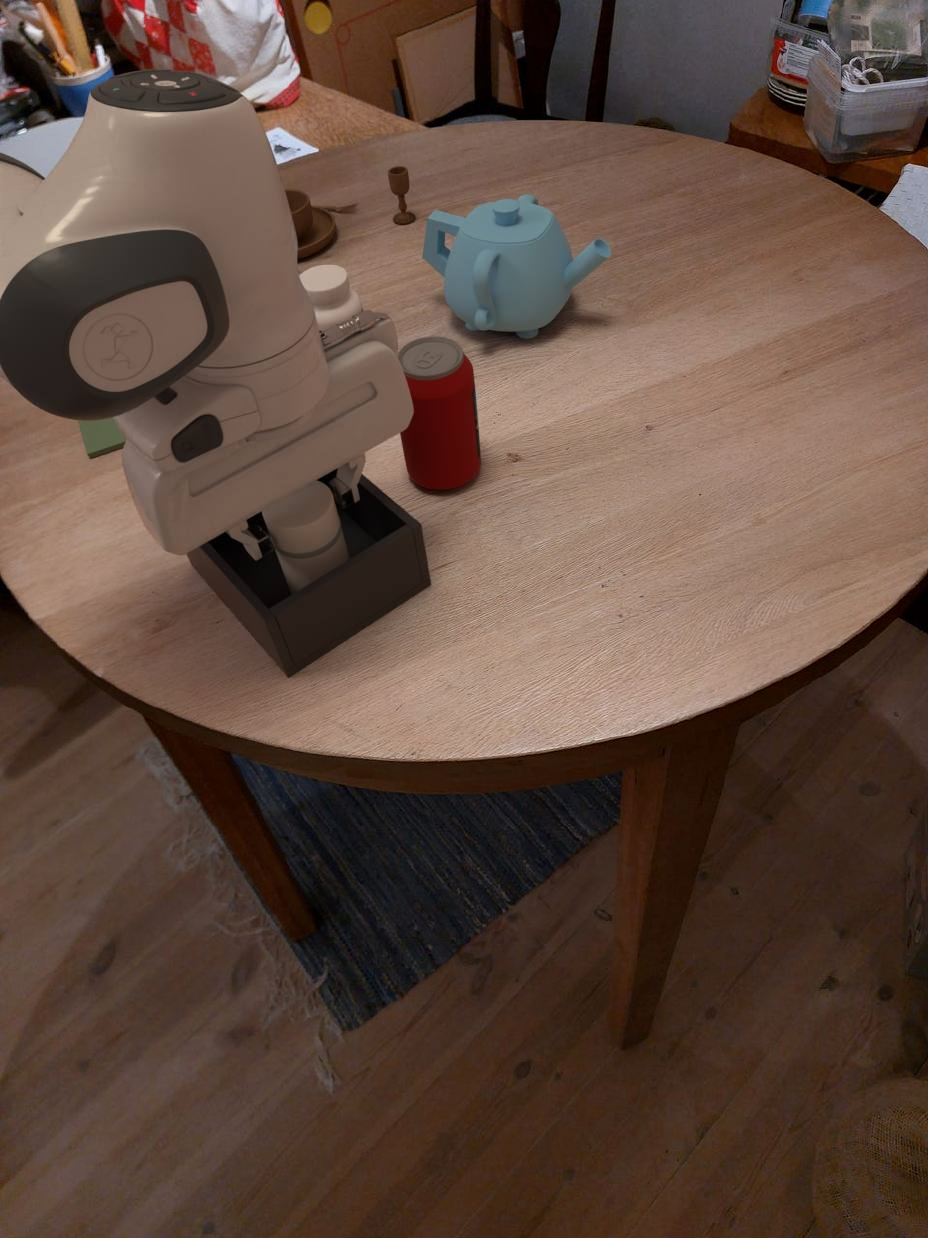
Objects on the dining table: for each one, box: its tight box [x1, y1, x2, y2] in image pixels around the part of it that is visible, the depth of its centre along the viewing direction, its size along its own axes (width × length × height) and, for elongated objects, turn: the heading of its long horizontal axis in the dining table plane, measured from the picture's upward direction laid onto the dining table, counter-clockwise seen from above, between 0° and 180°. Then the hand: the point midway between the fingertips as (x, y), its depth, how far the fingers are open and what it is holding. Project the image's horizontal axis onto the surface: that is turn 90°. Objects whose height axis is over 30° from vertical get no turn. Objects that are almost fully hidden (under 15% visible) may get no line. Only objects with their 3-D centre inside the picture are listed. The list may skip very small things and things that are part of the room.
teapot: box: [421, 194, 612, 339], centre depth 89 cm, size 20×17×12 cm
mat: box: [77, 417, 127, 459], centre depth 88 cm, size 12×12×1 cm
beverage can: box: [396, 336, 482, 490], centre depth 74 cm, size 7×7×12 cm
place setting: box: [284, 165, 416, 261], centre depth 104 cm, size 18×20×6 cm
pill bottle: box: [299, 264, 364, 332], centre depth 84 cm, size 6×6×11 cm
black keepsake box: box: [186, 468, 432, 678], centre depth 69 cm, size 16×14×7 cm
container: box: [262, 480, 350, 595], centre depth 66 cm, size 5×5×9 cm
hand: (304, 525), depth 64 cm, fingers open, 6 cm apart
